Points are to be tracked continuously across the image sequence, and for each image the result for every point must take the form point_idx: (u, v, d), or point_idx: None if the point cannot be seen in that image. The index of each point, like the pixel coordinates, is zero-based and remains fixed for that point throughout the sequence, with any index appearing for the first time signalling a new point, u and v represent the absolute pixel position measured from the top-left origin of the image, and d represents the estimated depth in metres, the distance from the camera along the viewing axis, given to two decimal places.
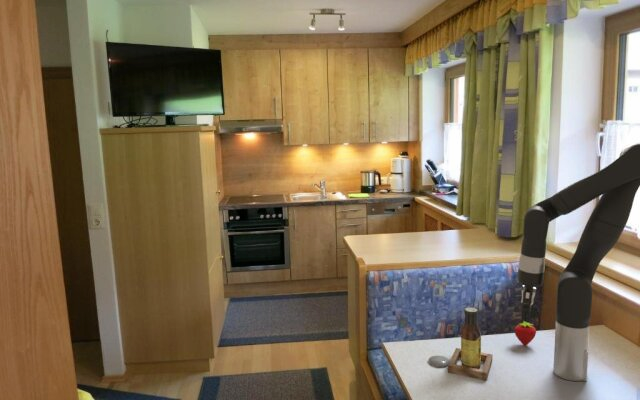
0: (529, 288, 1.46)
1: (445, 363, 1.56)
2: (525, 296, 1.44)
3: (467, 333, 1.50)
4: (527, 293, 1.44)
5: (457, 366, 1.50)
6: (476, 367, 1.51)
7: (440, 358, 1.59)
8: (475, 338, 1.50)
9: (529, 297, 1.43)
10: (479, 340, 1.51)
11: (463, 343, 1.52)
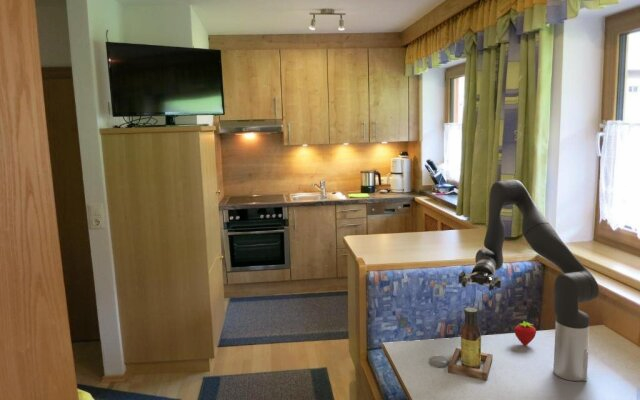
0: None
1: (445, 363, 1.56)
2: None
3: (467, 333, 1.50)
4: None
5: (457, 366, 1.50)
6: (476, 367, 1.51)
7: (440, 358, 1.59)
8: (475, 338, 1.50)
9: None
10: (479, 340, 1.51)
11: (463, 343, 1.52)
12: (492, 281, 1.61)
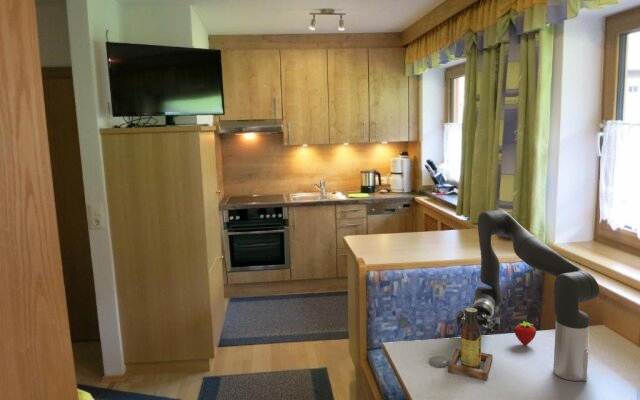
0: None
1: (445, 363, 1.56)
2: None
3: (467, 333, 1.50)
4: None
5: (457, 366, 1.50)
6: (476, 367, 1.51)
7: (440, 358, 1.59)
8: (475, 338, 1.50)
9: None
10: (479, 340, 1.51)
11: (463, 343, 1.52)
12: (490, 323, 1.61)
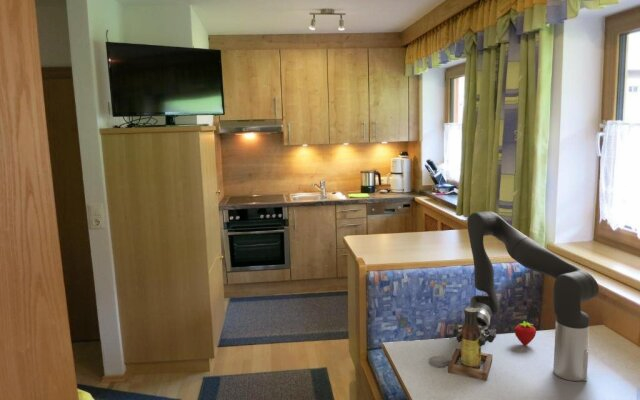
0: None
1: (445, 363, 1.56)
2: None
3: (467, 333, 1.50)
4: None
5: (457, 366, 1.50)
6: (476, 367, 1.51)
7: (440, 358, 1.59)
8: (475, 338, 1.50)
9: (454, 325, 1.61)
10: (479, 340, 1.51)
11: (463, 343, 1.52)
12: (483, 335, 1.52)
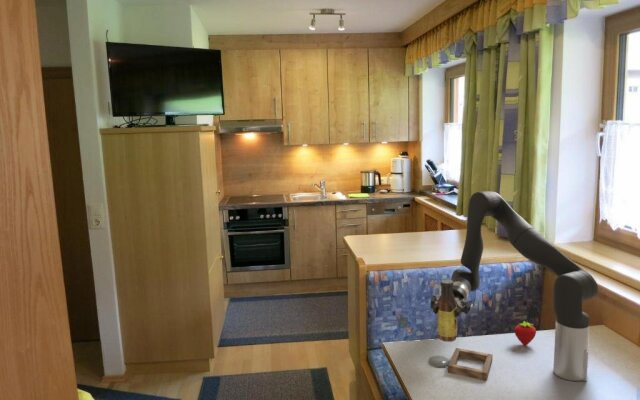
0: None
1: (445, 363, 1.56)
2: None
3: (442, 304, 1.52)
4: None
5: (457, 366, 1.50)
6: (452, 338, 1.53)
7: (440, 358, 1.59)
8: (451, 309, 1.52)
9: (432, 298, 1.63)
10: None
11: (439, 314, 1.54)
12: (459, 307, 1.54)
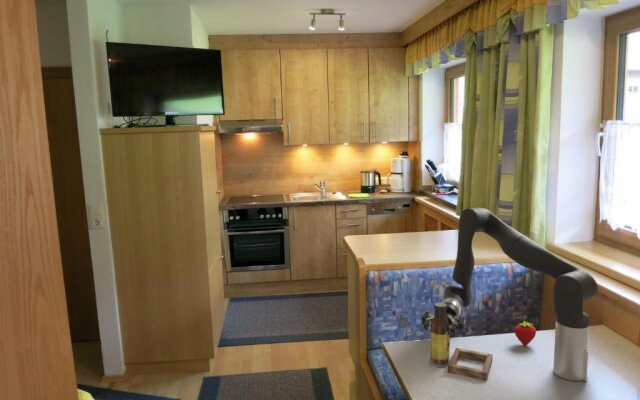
0: None
1: None
2: None
3: (436, 327, 1.54)
4: None
5: (457, 366, 1.50)
6: (444, 360, 1.55)
7: None
8: (444, 332, 1.53)
9: None
10: (447, 334, 1.54)
11: (432, 337, 1.55)
12: (454, 324, 1.56)
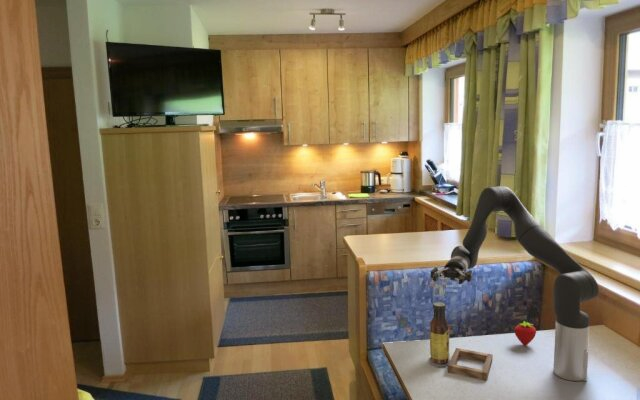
0: None
1: (445, 363, 1.56)
2: None
3: (435, 327, 1.54)
4: None
5: (457, 366, 1.50)
6: (444, 360, 1.55)
7: None
8: (443, 332, 1.54)
9: None
10: (447, 334, 1.54)
11: (432, 337, 1.56)
12: (462, 275, 1.65)
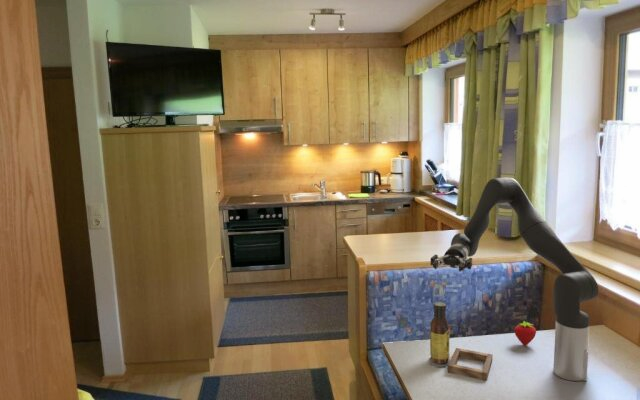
0: None
1: (445, 363, 1.56)
2: None
3: (435, 327, 1.54)
4: None
5: (457, 366, 1.50)
6: (444, 360, 1.55)
7: None
8: (444, 332, 1.54)
9: None
10: (447, 334, 1.54)
11: (432, 336, 1.56)
12: (462, 262, 1.64)
